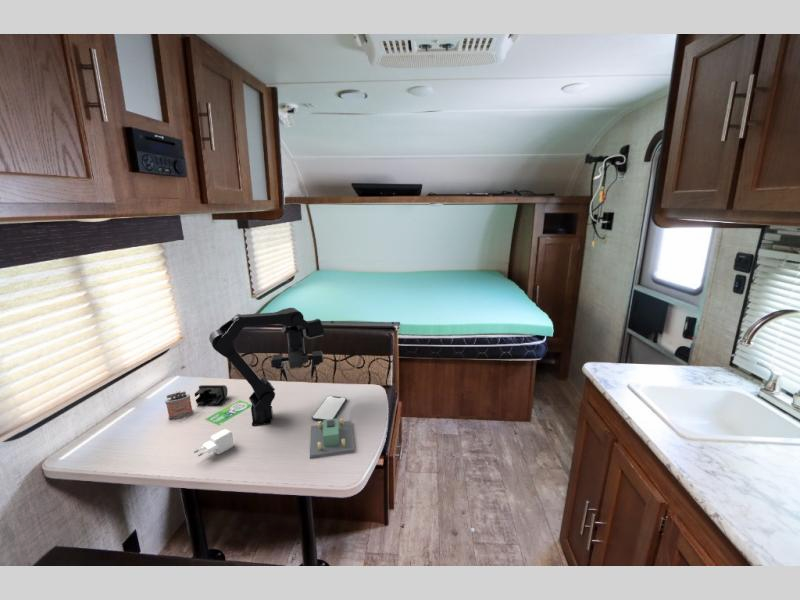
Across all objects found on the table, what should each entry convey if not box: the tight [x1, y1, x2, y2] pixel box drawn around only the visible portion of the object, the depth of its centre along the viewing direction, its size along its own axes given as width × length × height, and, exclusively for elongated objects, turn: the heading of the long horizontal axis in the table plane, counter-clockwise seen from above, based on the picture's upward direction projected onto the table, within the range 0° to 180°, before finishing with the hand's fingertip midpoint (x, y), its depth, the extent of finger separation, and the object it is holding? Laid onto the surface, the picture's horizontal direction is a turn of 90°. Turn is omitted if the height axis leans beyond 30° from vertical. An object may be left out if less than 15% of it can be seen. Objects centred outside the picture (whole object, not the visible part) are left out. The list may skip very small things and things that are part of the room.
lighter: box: [164, 390, 194, 421], centre depth 138 cm, size 8×3×10 cm, turn 123°
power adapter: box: [193, 428, 235, 457], centre depth 117 cm, size 11×5×6 cm, turn 143°
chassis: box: [309, 417, 355, 459], centre depth 124 cm, size 14×16×4 cm
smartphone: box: [311, 395, 348, 423], centre depth 141 cm, size 9×2×16 cm
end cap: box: [194, 384, 228, 407], centre depth 147 cm, size 10×7×7 cm
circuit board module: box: [322, 417, 340, 447], centre depth 123 cm, size 5×9×4 cm, turn 11°
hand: (299, 379), depth 140 cm, fingers open, 9 cm apart
